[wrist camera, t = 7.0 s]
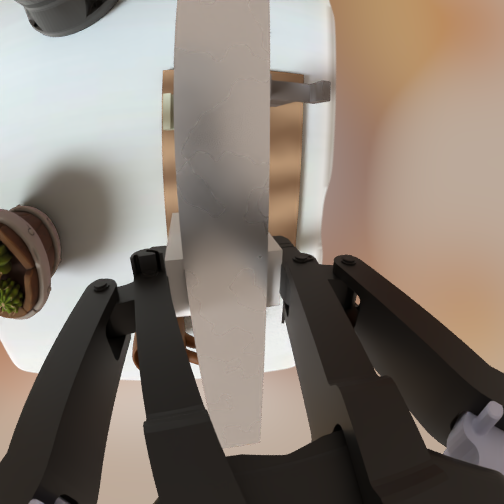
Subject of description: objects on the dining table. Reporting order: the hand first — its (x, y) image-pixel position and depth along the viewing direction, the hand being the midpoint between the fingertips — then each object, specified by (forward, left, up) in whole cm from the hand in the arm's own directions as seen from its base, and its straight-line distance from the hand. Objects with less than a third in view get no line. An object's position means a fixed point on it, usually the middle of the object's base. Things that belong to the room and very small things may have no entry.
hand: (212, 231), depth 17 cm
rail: (0, 0, +4) cm, 4 cm away
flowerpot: (+6, -26, -20) cm, 34 cm away
